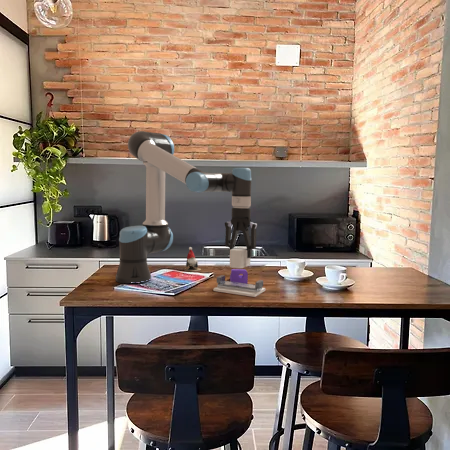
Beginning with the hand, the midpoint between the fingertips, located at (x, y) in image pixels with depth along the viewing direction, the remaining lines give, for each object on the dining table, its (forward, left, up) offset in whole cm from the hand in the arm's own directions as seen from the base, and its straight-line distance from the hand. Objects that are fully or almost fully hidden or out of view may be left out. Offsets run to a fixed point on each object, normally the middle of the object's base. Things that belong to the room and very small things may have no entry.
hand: (240, 265), depth 171 cm
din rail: (0, 0, -11) cm, 11 cm away
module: (0, 0, 0) cm, 0 cm away
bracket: (-7, +13, -11) cm, 19 cm away
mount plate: (0, 0, -11) cm, 11 cm away
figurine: (-37, +25, -11) cm, 46 cm away
